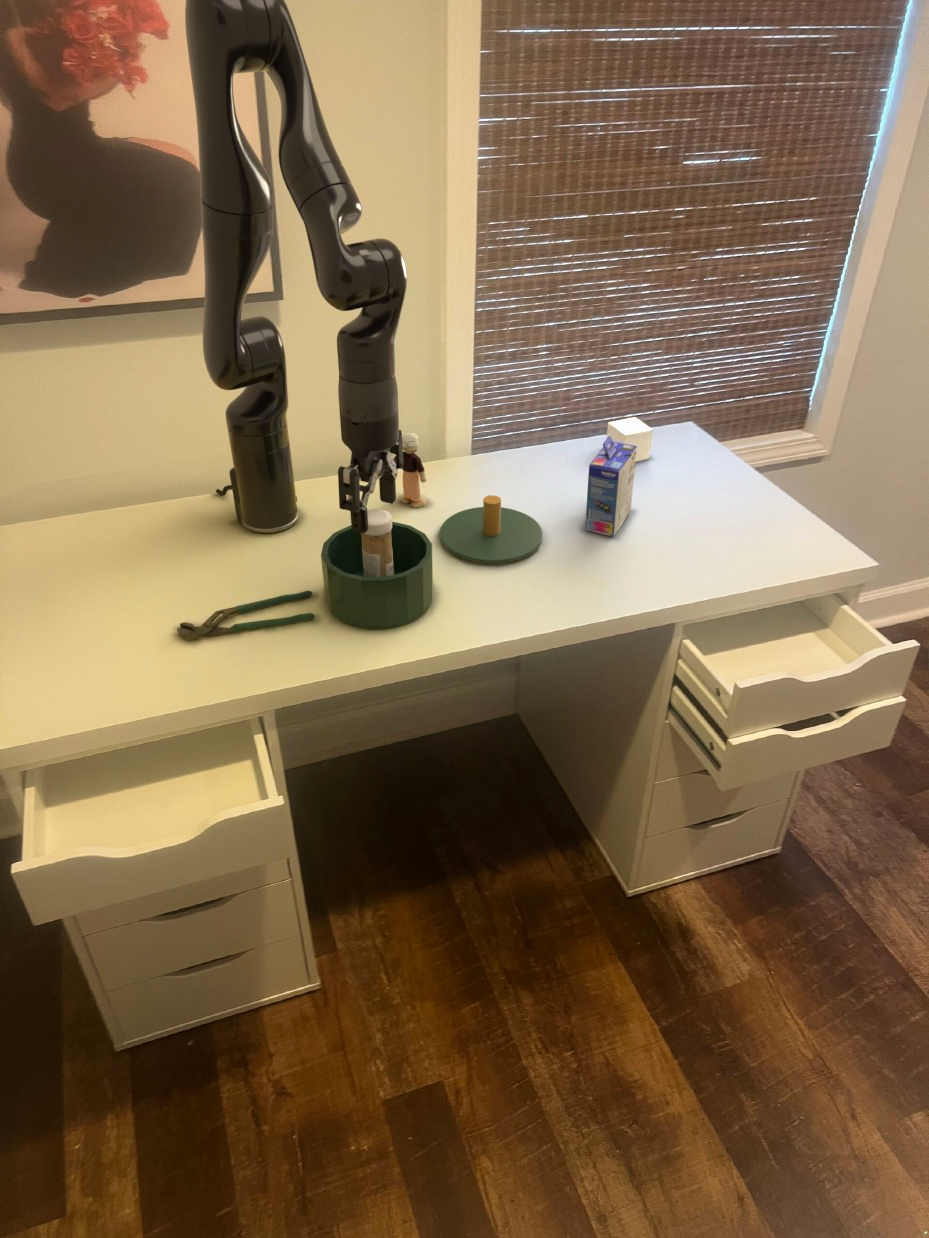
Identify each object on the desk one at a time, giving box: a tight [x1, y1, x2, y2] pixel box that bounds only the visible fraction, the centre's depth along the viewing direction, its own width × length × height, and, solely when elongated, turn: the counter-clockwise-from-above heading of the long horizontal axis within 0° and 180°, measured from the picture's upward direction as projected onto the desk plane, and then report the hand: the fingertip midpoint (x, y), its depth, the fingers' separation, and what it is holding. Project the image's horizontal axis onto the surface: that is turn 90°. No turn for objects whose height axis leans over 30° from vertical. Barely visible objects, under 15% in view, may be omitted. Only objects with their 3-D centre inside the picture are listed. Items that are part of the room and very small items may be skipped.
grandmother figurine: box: [393, 432, 427, 508], centre depth 153 cm, size 8×4×13 cm, turn 58°
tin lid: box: [439, 495, 543, 564], centre depth 145 cm, size 17×17×7 cm
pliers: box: [176, 590, 316, 641], centre depth 129 cm, size 20×6×1 cm, turn 109°
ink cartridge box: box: [584, 436, 637, 538], centre depth 148 cm, size 10×6×14 cm, turn 155°
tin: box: [320, 521, 434, 631], centre depth 131 cm, size 16×16×8 cm
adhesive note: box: [605, 416, 654, 463], centre depth 170 cm, size 6×6×6 cm
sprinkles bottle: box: [361, 508, 394, 577], centre depth 129 cm, size 5×5×14 cm
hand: (374, 516), depth 126 cm, fingers open, 8 cm apart
